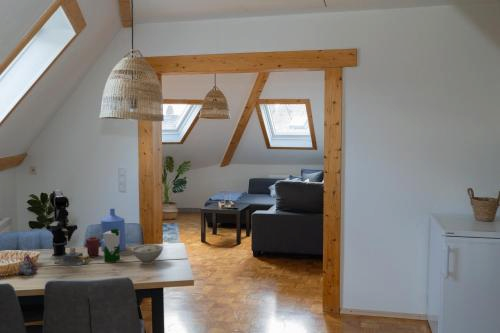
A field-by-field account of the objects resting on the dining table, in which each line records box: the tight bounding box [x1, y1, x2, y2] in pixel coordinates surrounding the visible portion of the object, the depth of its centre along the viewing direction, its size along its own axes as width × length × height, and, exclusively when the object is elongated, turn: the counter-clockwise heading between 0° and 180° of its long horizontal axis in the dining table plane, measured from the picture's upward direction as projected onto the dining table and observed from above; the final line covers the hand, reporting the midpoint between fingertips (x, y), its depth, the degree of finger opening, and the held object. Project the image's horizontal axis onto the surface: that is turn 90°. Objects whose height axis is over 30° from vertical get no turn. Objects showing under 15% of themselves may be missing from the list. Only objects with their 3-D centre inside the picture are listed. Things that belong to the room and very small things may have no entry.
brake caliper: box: [17, 254, 38, 276], centre depth 277 cm, size 11×11×12 cm
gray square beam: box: [69, 246, 76, 255], centre depth 301 cm, size 2×2×8 cm
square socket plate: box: [54, 251, 93, 266], centre depth 301 cm, size 19×12×5 cm, turn 75°
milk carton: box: [102, 229, 121, 263], centre depth 303 cm, size 9×9×20 cm
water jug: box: [100, 208, 126, 252], centre depth 331 cm, size 16×16×28 cm
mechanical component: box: [84, 236, 102, 258], centre depth 315 cm, size 12×10×10 cm
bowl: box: [131, 244, 164, 265], centre depth 298 cm, size 19×19×10 cm
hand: (62, 240), depth 302 cm, fingers open, 9 cm apart
